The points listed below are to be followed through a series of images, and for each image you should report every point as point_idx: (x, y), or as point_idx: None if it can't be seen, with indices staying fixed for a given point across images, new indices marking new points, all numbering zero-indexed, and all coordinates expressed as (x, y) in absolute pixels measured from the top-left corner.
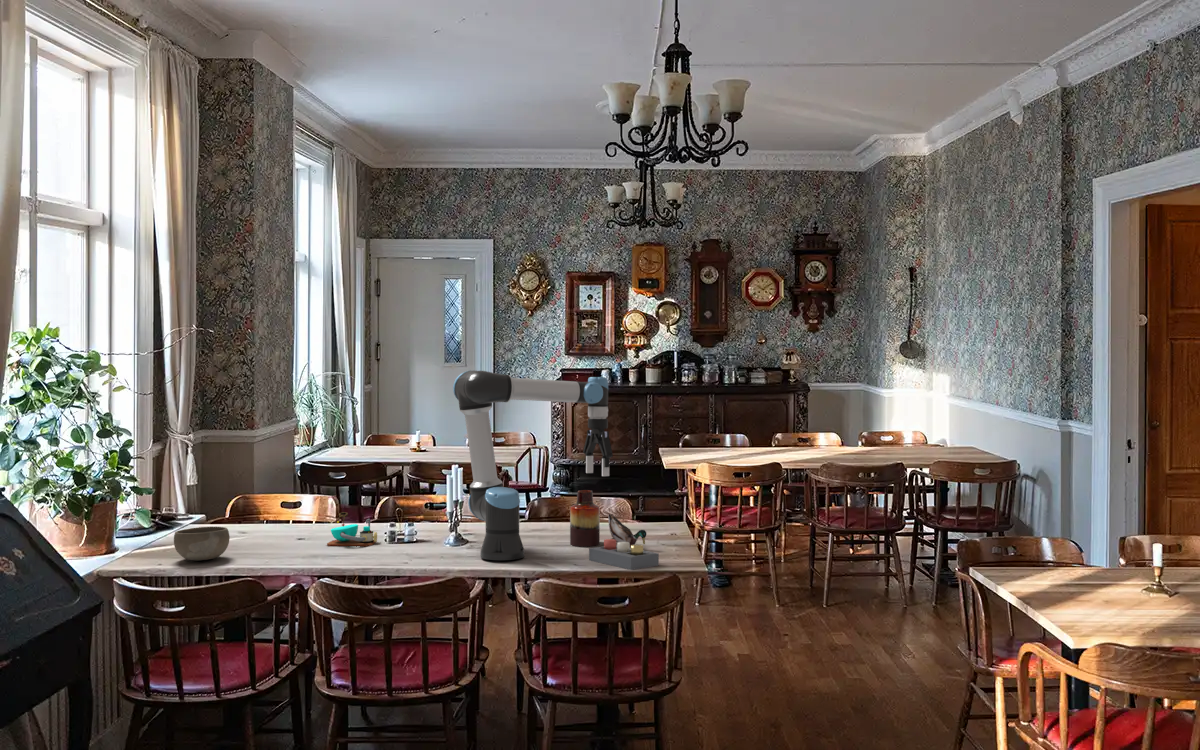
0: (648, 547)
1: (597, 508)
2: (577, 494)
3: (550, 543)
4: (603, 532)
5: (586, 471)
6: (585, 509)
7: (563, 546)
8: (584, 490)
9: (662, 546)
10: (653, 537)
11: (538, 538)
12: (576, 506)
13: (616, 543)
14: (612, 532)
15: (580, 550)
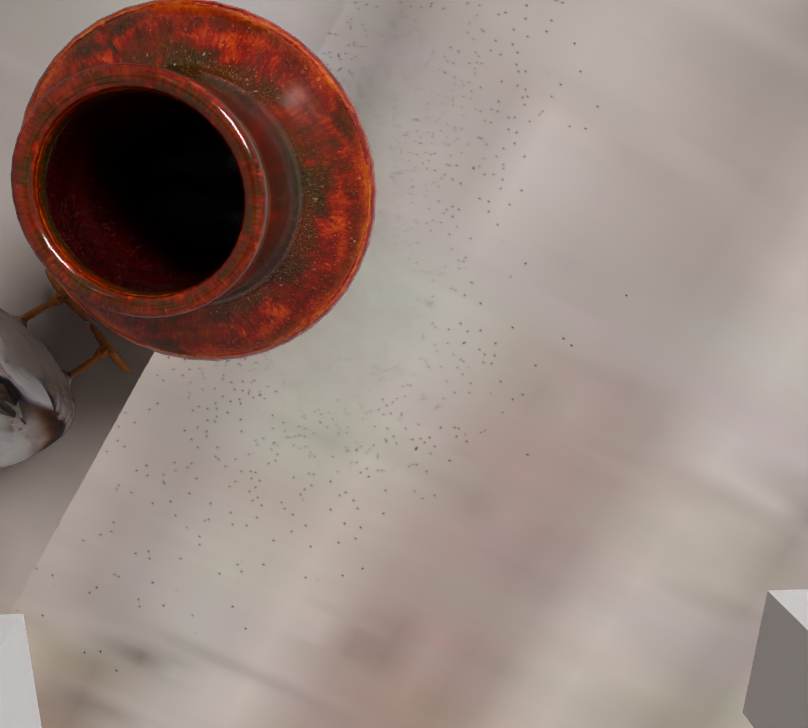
0: (60, 537)
1: (64, 288)
2: (182, 73)
3: (492, 11)
4: (699, 539)
5: (804, 610)
6: (26, 114)
7: (326, 40)
8: (240, 236)
9: (65, 621)
10: (387, 705)
11: (736, 34)
12: (129, 36)
13: (127, 371)
14: None
15: None
